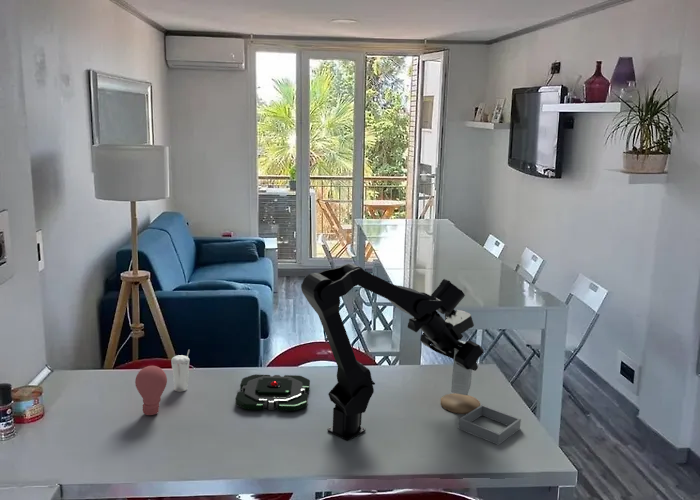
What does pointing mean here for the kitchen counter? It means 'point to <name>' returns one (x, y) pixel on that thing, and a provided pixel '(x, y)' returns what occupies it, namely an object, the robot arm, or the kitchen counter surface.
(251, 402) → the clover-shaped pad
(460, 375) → the skincare box
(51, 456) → the kitchen counter surface
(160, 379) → the light bulb
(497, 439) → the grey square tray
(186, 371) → the milkshake
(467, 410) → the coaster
